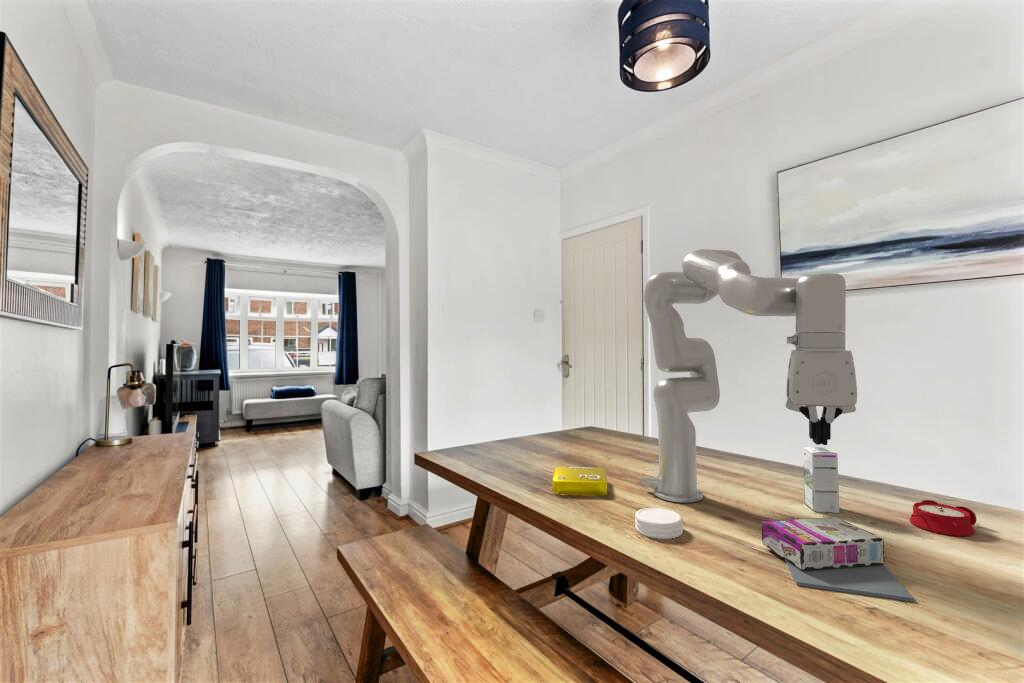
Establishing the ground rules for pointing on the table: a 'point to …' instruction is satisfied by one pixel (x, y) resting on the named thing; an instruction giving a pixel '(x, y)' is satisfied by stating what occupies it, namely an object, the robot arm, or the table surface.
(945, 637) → the table surface
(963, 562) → the table surface
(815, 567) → the candy bar box
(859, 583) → the slate mat
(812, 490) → the syrup box
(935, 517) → the alarm clock
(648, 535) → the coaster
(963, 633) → the table surface
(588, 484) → the element tile
